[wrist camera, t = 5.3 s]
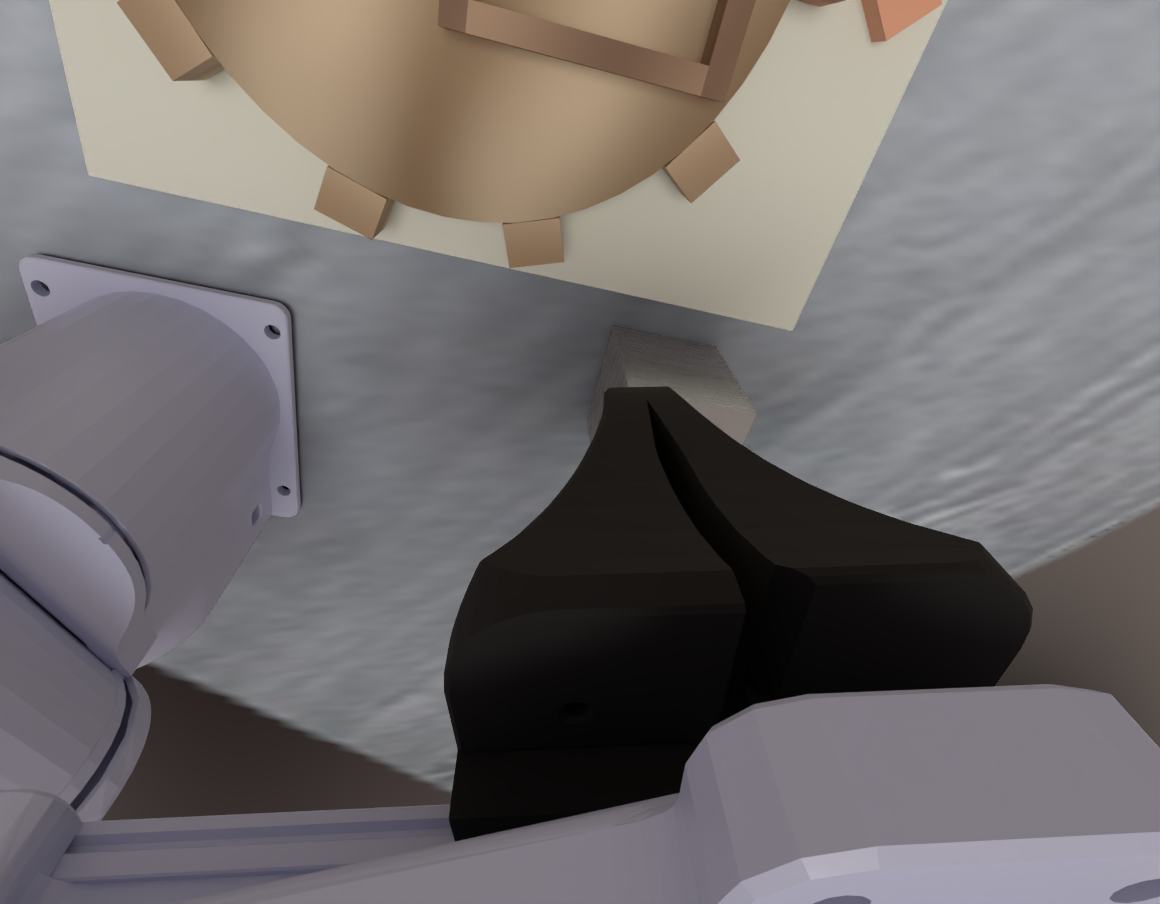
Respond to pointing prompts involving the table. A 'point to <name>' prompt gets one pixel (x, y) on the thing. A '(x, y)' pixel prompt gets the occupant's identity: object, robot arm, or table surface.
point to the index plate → (590, 237)
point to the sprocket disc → (480, 97)
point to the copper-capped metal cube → (674, 378)
